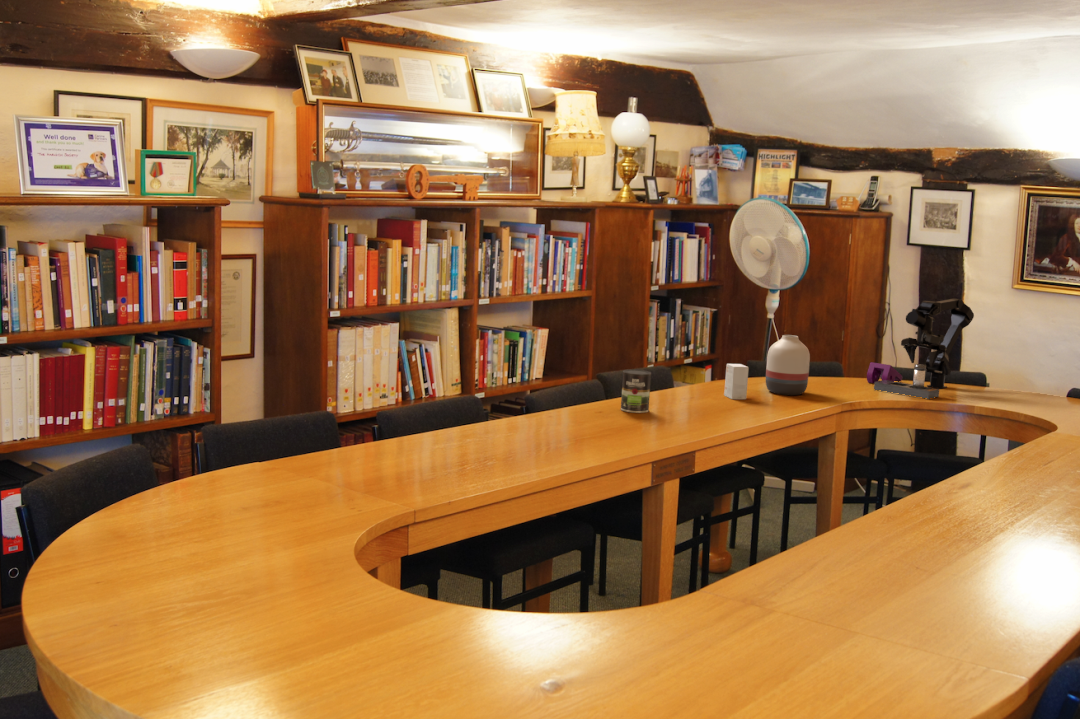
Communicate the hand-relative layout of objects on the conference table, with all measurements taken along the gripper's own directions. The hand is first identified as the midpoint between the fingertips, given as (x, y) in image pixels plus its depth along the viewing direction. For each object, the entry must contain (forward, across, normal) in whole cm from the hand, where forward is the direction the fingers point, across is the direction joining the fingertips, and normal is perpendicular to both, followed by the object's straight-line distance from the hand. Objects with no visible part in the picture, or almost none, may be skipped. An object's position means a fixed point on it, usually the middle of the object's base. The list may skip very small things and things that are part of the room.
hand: (922, 365), depth 408 cm
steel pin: (+15, -5, -5) cm, 16 cm away
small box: (+30, -87, -4) cm, 92 cm away
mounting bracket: (+6, -1, +23) cm, 23 cm away
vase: (+23, -61, +4) cm, 65 cm away
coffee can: (+45, -135, -24) cm, 145 cm away
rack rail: (+14, -7, -1) cm, 16 cm away
